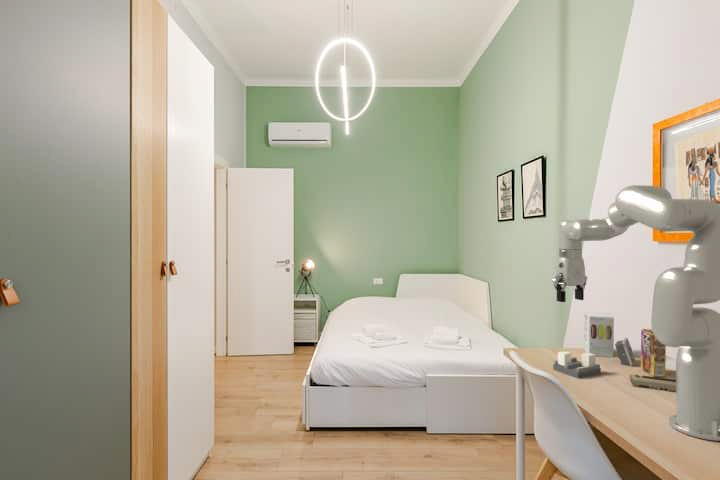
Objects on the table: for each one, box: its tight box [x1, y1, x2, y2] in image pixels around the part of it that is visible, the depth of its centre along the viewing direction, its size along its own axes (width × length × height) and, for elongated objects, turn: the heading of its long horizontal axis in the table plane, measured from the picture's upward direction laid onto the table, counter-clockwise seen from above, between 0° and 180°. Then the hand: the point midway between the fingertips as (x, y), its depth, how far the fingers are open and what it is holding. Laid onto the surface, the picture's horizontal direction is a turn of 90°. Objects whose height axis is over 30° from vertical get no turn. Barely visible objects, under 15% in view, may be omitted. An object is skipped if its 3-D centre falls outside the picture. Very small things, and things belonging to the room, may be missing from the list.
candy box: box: [640, 328, 667, 378], centre depth 149 cm, size 9×4×15 cm, turn 171°
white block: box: [581, 352, 597, 367], centre depth 150 cm, size 3×4×4 cm
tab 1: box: [557, 350, 572, 366], centre depth 152 cm, size 3×4×4 cm
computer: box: [629, 373, 676, 393], centre depth 136 cm, size 16×8×3 cm, turn 63°
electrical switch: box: [614, 337, 636, 367], centre depth 161 cm, size 9×5×9 cm, turn 141°
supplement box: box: [583, 312, 615, 358], centre depth 173 cm, size 10×9×17 cm
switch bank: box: [552, 356, 602, 379], centre depth 151 cm, size 10×12×3 cm
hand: (570, 300), depth 149 cm, fingers open, 9 cm apart
